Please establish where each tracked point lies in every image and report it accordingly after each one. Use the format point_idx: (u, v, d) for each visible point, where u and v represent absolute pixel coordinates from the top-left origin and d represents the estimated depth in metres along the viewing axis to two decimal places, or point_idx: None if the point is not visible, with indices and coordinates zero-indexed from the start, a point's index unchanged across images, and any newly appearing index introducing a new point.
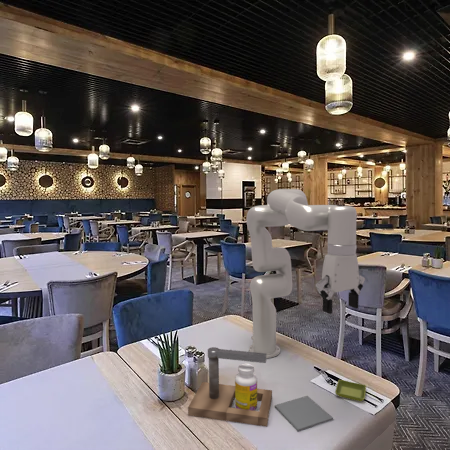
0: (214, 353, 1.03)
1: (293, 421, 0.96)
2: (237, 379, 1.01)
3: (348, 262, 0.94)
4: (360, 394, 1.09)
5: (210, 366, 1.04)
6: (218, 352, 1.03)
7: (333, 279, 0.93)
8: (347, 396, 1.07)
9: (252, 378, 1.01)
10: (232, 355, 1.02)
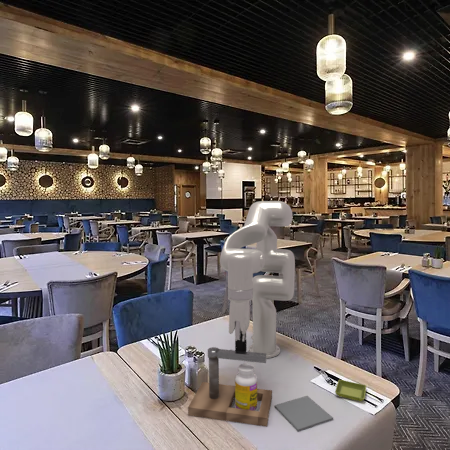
0: (214, 353, 1.03)
1: (293, 421, 0.96)
2: (237, 379, 1.01)
3: (248, 304, 1.03)
4: (360, 394, 1.09)
5: (210, 366, 1.04)
6: (218, 352, 1.03)
7: (244, 323, 0.99)
8: (347, 396, 1.07)
9: (252, 378, 1.01)
10: (232, 355, 1.02)
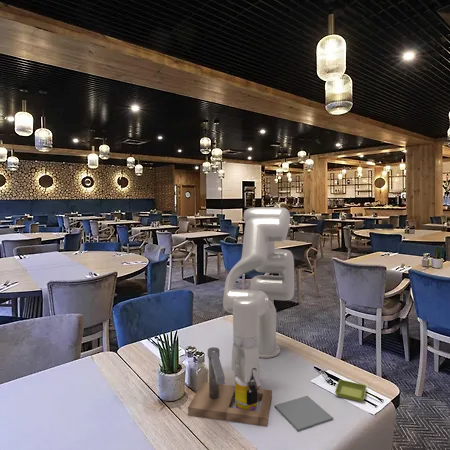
0: (208, 352, 1.03)
1: (293, 421, 0.96)
2: (237, 379, 1.01)
3: None
4: (360, 394, 1.09)
5: (210, 366, 1.04)
6: (211, 353, 1.02)
7: None
8: (347, 396, 1.07)
9: (252, 378, 1.01)
10: (212, 361, 0.98)
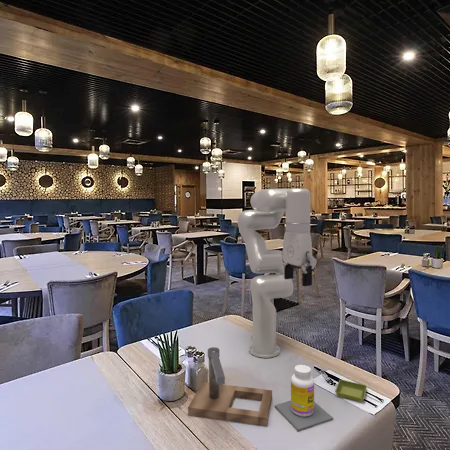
0: (208, 352, 1.03)
1: (293, 421, 0.96)
2: (294, 381, 0.99)
3: None
4: (360, 394, 1.09)
5: (210, 366, 1.04)
6: (211, 353, 1.02)
7: None
8: (347, 396, 1.07)
9: (309, 380, 0.98)
10: (212, 361, 0.98)
